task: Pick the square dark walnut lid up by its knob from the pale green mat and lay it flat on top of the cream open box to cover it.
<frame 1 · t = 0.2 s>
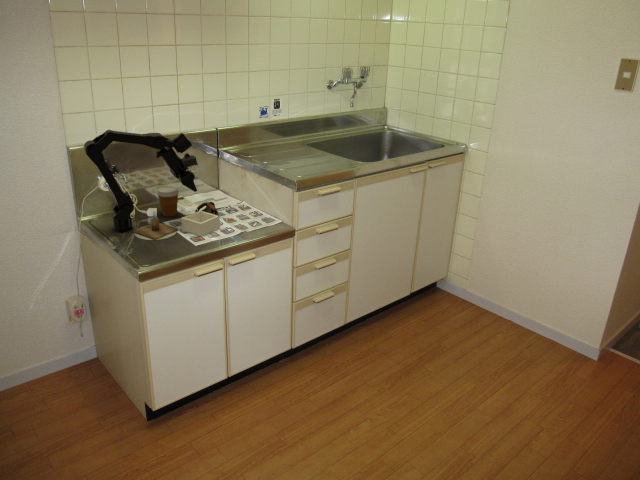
hand: (193, 188, 235), 15 cm above the worktop, tool tilted 30°, fingers open, 9 cm apart
walnut lid: (156, 231, 226), resting on sage mat
sage mat: (156, 232, 226), on the worktop
cream open box: (201, 230, 230), on the worktop
brown curved piece: (208, 218, 244), on the worktop
disposable coffee cup: (169, 215, 246), on the worktop
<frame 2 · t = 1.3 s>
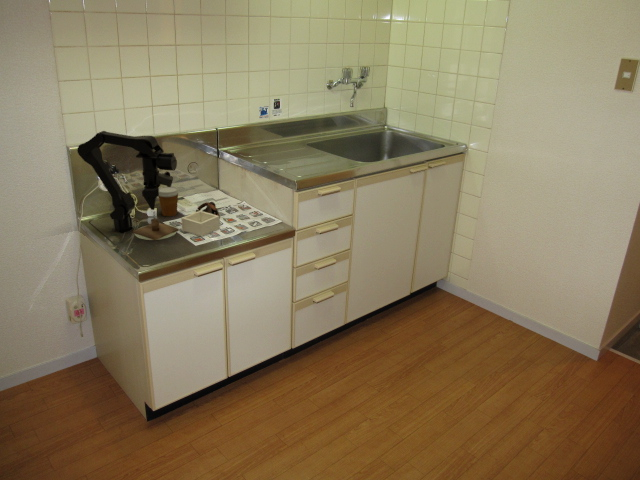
hand: (153, 205, 222), 12 cm above the worktop, tool pointing down, fingers open, 9 cm apart
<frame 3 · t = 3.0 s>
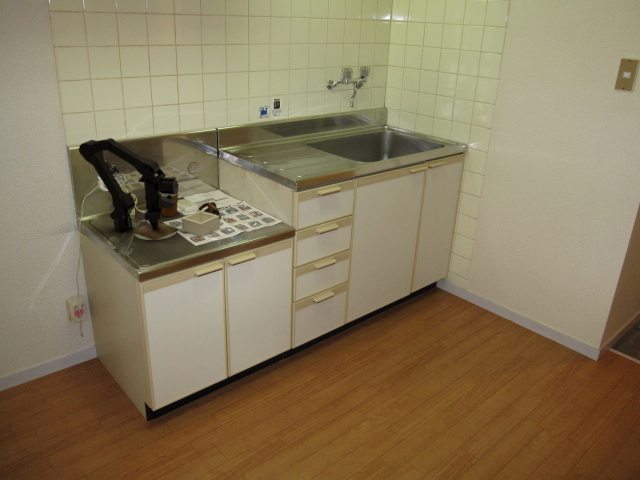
hand: (155, 228, 226), 2 cm above the worktop, tool pointing down, fingers closed on walnut lid, 3 cm apart
walnut lid: (156, 231, 226), resting on sage mat, touching gripper
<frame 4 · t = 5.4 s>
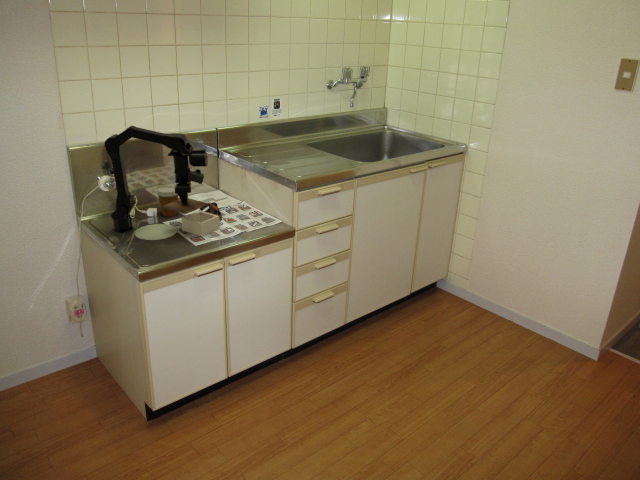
hand: (184, 203, 224), 13 cm above the worktop, tool pointing down, fingers closed on walnut lid, 3 cm apart
walnut lid: (185, 206, 225), point 11 cm above the worktop, touching gripper
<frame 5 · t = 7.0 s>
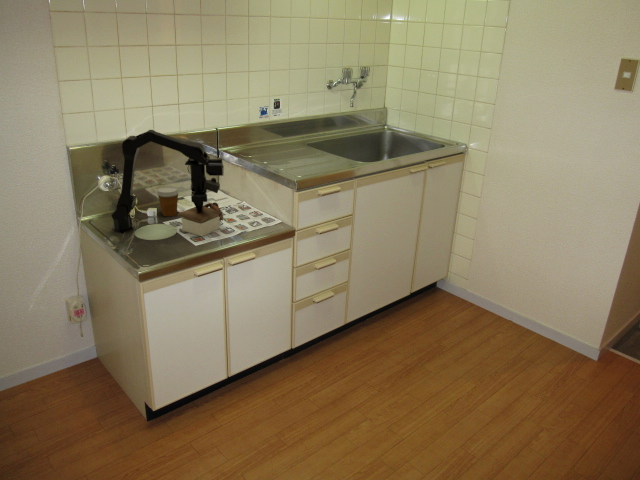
hand: (199, 211, 227), 9 cm above the worktop, tool pointing down, fingers closed on walnut lid, 3 cm apart
walnut lid: (200, 214, 228), point 7 cm above the worktop, touching gripper
when the fingers open (8 cm above the worktop, at t = 8.1 s): walnut lid drops 1 cm, resting on cream open box.
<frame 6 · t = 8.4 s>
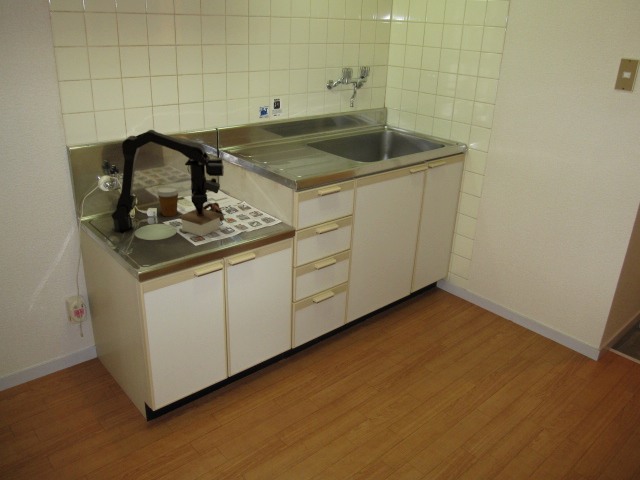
hand: (200, 211, 227), 8 cm above the worktop, tool pointing down, fingers open, 7 cm apart
walnut lid: (200, 217, 228), point 6 cm above the worktop, touching cream open box
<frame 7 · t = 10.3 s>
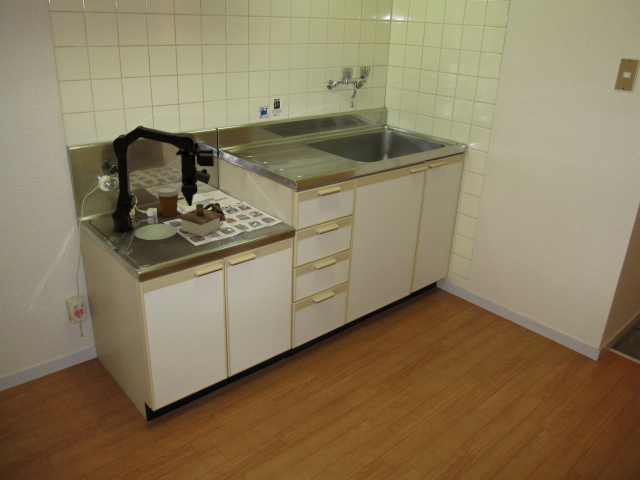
hand: (190, 202, 226), 12 cm above the worktop, tool pointing down, fingers open, 9 cm apart
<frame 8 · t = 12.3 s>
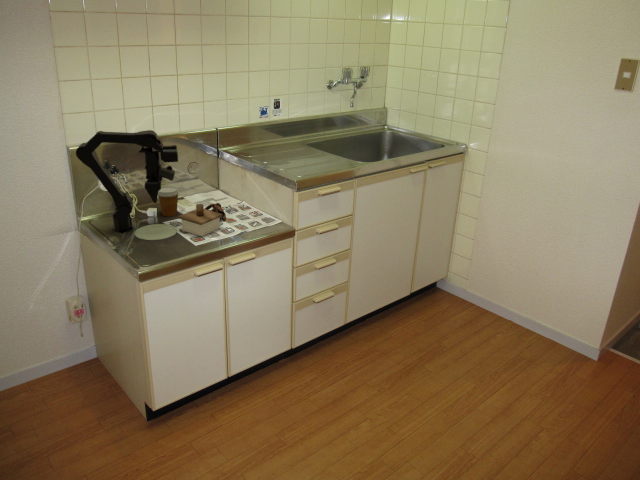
hand: (155, 199, 226), 13 cm above the worktop, tool pointing down, fingers open, 9 cm apart
at the end: walnut lid 0.0 cm off-centre on the cream open box, point 6.0 cm above the cream open box's base; walnut lid tilted 0°; the gripper is holding nothing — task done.
